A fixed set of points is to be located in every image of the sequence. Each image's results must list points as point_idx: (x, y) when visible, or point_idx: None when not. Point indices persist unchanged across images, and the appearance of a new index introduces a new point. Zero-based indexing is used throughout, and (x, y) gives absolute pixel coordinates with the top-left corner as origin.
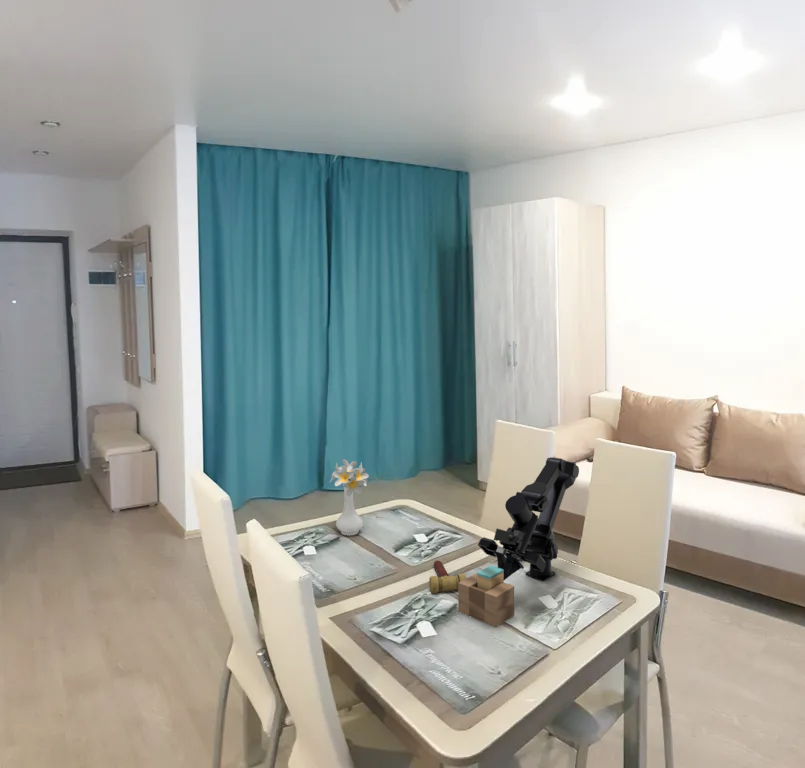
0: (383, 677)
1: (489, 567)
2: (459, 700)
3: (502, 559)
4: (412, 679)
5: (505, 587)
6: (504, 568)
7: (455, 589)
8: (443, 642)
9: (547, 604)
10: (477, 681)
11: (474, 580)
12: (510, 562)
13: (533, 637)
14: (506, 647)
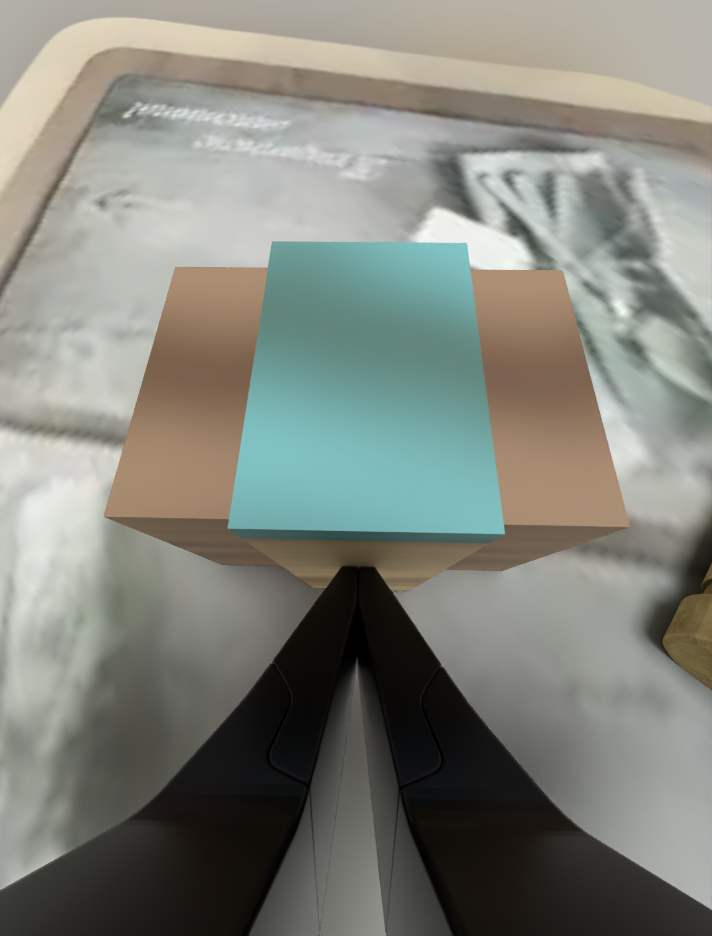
0: (365, 64)
1: (464, 448)
2: (151, 94)
3: (423, 859)
4: (301, 87)
5: (176, 432)
6: (306, 690)
7: (703, 580)
8: (354, 219)
9: None
10: (144, 151)
11: (503, 375)
12: (130, 834)
13: (49, 437)
14: (135, 313)
